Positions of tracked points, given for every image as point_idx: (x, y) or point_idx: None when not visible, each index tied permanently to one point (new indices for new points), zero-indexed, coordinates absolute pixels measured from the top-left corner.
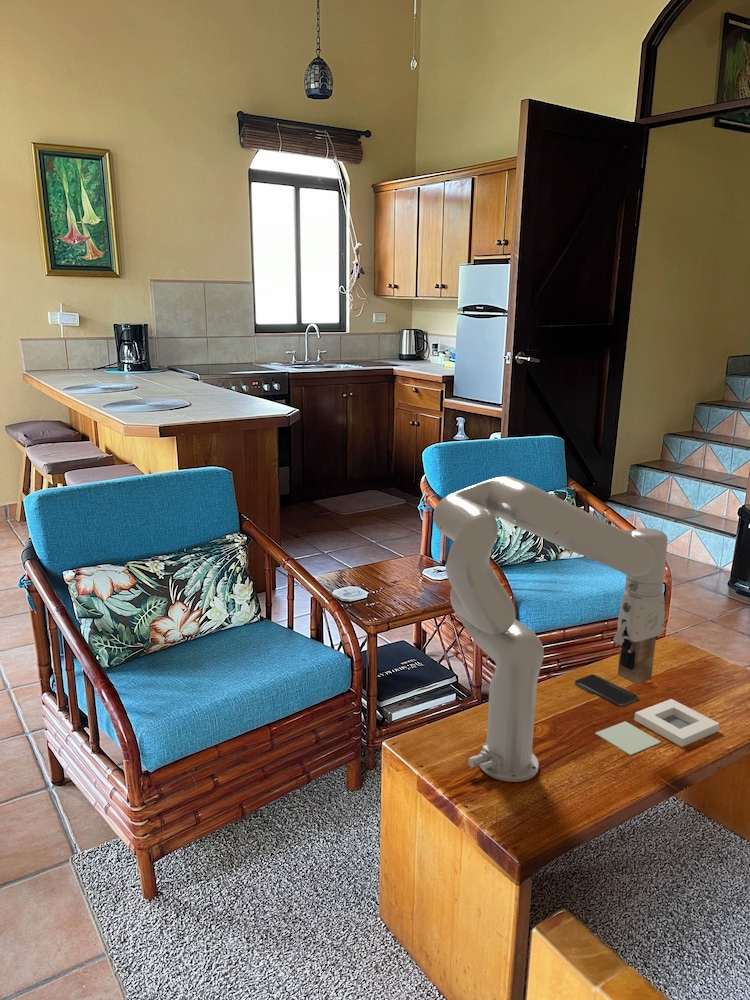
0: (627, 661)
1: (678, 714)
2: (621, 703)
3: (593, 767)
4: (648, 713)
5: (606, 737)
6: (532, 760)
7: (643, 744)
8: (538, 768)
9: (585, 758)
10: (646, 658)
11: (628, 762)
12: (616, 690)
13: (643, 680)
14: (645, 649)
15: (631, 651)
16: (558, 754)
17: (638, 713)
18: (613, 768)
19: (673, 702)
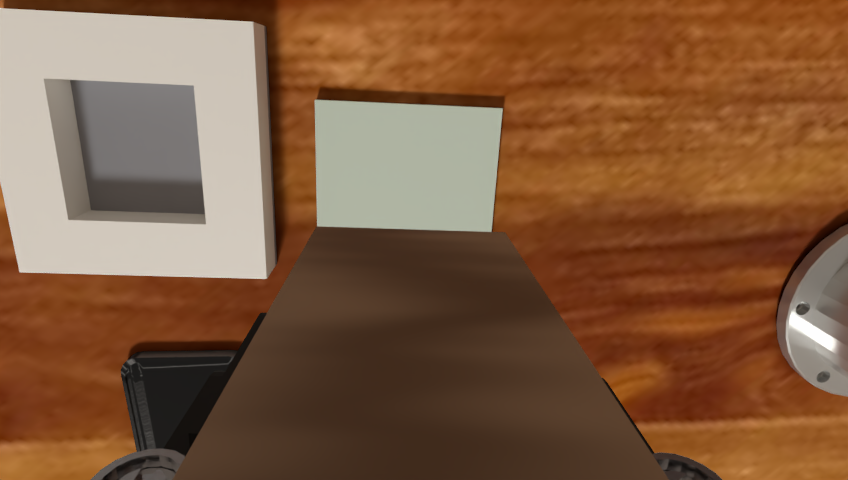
0: (616, 399)
1: (77, 187)
2: (224, 366)
3: (669, 139)
4: (219, 245)
5: None
6: (833, 268)
7: (396, 127)
8: (836, 232)
9: (642, 194)
10: (411, 323)
11: (537, 87)
12: (166, 435)
13: (413, 233)
14: (464, 413)
15: (676, 477)
16: (694, 261)
17: (260, 266)
18: (618, 93)
19: (35, 246)
